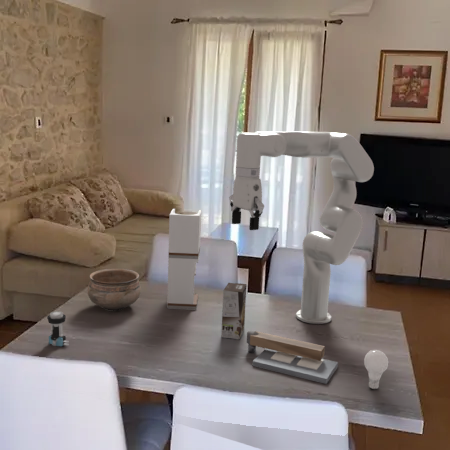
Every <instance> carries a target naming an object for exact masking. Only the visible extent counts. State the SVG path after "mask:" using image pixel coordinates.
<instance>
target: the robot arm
mask: <svg viewBox="0 0 450 450" xmlns="http://www.w3.org/2000/svg"><path fill="white" fill-rule="evenodd" d="M235 156H236V159H235V178H234V183H233V188H232V189H233V191H232V194H231V195H230V196H229V197H228V198H229V203H230V207H231V211H230V212H231V224H232V225H239V224H241V222H242V211H241V210H245V211H249V214H250V217H249V230H250V231H258V230H260V228H259V227H260V218H261V217H262V216H261V215H262V214H263V211H264V208H265V204H264V203H263V191H262V190H263V188H262V180H261V178H260V174H261V157H268V158H269V157H270V158H278V157H280V156H287V157H293V158H302V159H304V158H305V159H307V158H308V159H309V158H311V159H312V158H332V159H331V161H330V164H329V168H330V173H331V176H332V180H333V188H332V192H331V194H330V196H329V198H328V200H327V201H326V204H325V205H324V207H323V210H322V212H321V214H320V217H319V225H320V226H321V227H322V228H323V229H324V230H326V231H328V232H332V233H334V235H332V234H329V233H326V232H323V231H318V230H313V231H311V232H308V233H307V234H306V235H305V236H304V238H303V241H302V255H303V275H302V276H303V277H302V287H301V288H302V290H301V298H300V299H301V301H300V309H299V310H297V311H296V313H295V317H296V318H297V320H299V321H301V322H304V323H307V324H314V325H321V324H328V323H330V322H331V321H332V314H331V313H329V312H328V310H329V299H330V298H329V297H330V286H331V277H332V276H331V275H332V274H331V273H332V271H331V265H332V266H340V265H342V264H344V263H345V262H346V261H347V260H348V258H349V256H350V255H351V252H352V251H353V248H354V246H355V244H356V243H357V240H358V238H359V237H360V234H361V233H362V229H363V227H364V226H363V225H364V221H363V216H362V214H361V213H360V212H359V211H358V210H356V209H354V208H353V206H354V204H355V202H356V199H357V187H356V184H355V182H358V183H365V182H368V181H370V179H372V177H373V176H374V171H375V167H374V163H373V160H372V159H371V157H370V156H369V154H368V153H367V152H366V150H365V149H364V147H363V146H362V145H361V143H360V142H359V141H358V140H357V139H356V137H355V136H353V135H352V134H350V133H346V132H345V133H344V132H342V133H341V132H333V131H332V132H330V131H263V130H262V131H261V130H260V131H259V130H258V131H254V132H241V133H239V134H238V135H237V139H236V155H235Z"/></svg>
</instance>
